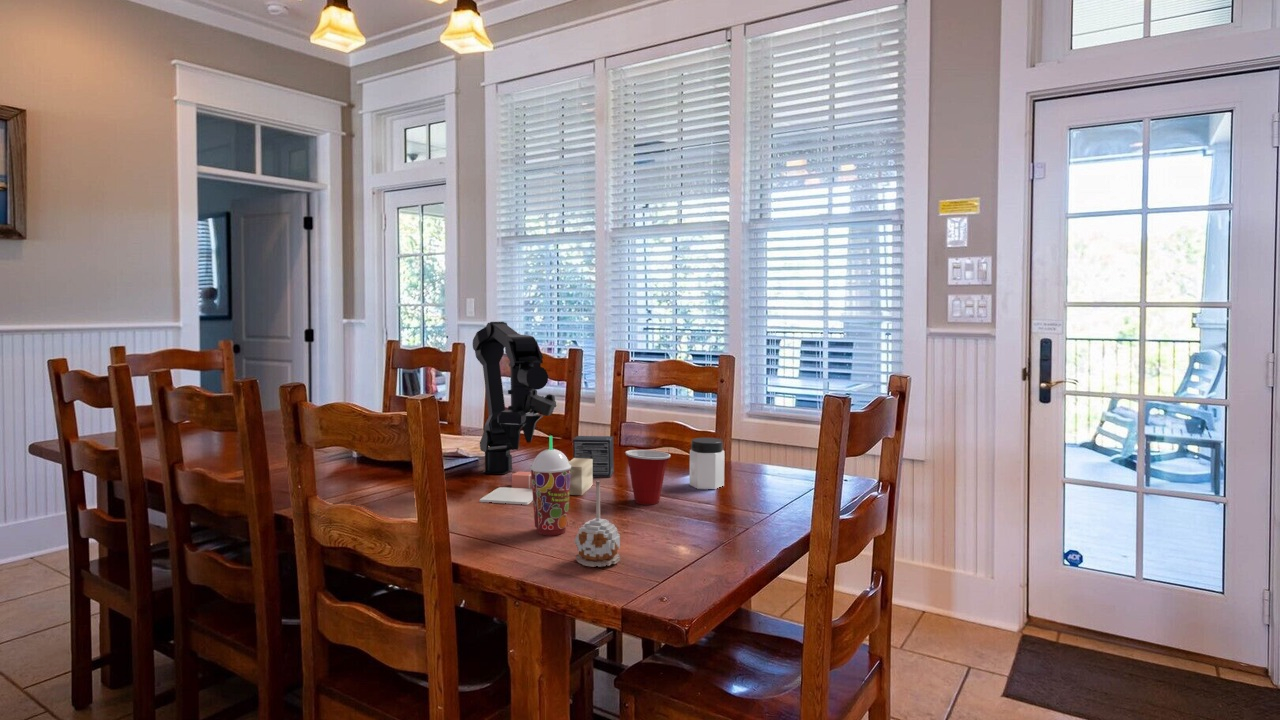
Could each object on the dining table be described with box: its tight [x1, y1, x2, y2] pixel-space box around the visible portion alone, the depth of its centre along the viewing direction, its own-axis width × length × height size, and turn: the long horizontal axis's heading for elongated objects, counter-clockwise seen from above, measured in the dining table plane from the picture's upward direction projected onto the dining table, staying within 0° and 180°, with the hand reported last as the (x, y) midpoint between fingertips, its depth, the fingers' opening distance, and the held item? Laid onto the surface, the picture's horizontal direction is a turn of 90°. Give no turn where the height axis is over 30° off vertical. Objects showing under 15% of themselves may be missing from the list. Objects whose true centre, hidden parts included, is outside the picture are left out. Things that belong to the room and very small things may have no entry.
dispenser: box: [568, 458, 594, 496], centre depth 185 cm, size 11×10×7 cm
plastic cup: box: [625, 449, 671, 506], centre depth 173 cm, size 11×11×12 cm
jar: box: [688, 437, 726, 490], centre depth 188 cm, size 9×8×12 cm
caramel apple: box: [574, 480, 621, 568], centre depth 132 cm, size 8×8×15 cm
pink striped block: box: [511, 470, 532, 489], centre depth 186 cm, size 14×4×4 cm, turn 78°
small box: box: [572, 435, 614, 478], centre depth 201 cm, size 11×6×10 cm, turn 84°
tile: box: [479, 486, 533, 506], centre depth 177 cm, size 12×12×1 cm
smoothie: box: [529, 435, 571, 537], centre depth 150 cm, size 8×8×20 cm
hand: (522, 446), depth 187 cm, fingers open, 9 cm apart
